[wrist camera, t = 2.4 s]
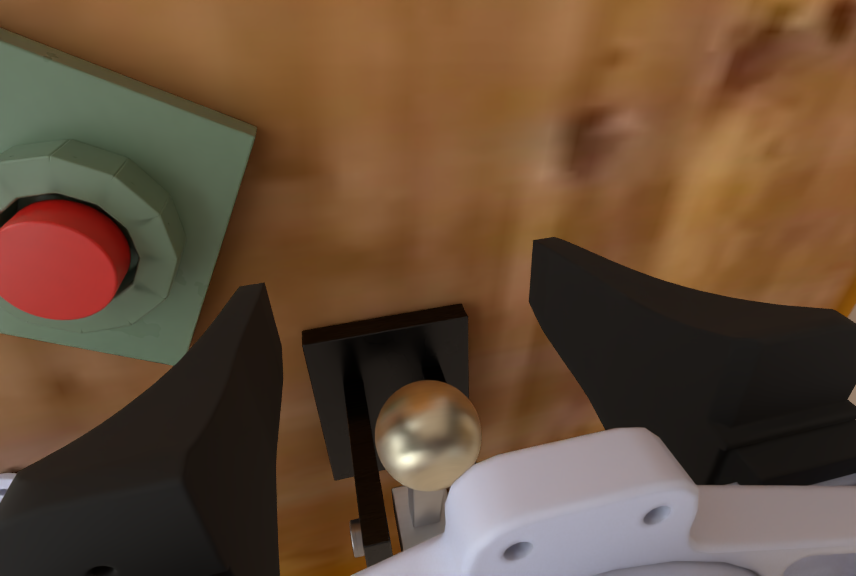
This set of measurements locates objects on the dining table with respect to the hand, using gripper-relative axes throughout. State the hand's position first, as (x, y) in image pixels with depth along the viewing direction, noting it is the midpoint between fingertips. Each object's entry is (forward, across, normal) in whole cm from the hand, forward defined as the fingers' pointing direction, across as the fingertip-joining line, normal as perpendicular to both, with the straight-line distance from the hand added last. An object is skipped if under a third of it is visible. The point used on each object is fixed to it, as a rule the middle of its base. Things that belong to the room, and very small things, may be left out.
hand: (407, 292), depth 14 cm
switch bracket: (+9, 0, +12) cm, 15 cm away
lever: (+1, 0, +7) cm, 8 cm away
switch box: (+9, +10, 0) cm, 14 cm away
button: (+6, +10, 0) cm, 12 cm away
